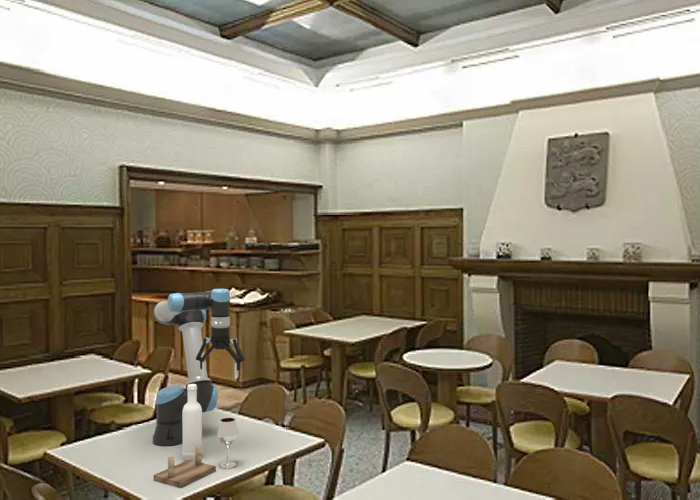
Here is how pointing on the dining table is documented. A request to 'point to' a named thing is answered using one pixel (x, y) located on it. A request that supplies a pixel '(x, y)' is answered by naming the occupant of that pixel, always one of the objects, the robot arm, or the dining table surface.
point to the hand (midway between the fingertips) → (220, 377)
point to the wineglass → (227, 437)
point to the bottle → (191, 424)
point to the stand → (185, 471)
